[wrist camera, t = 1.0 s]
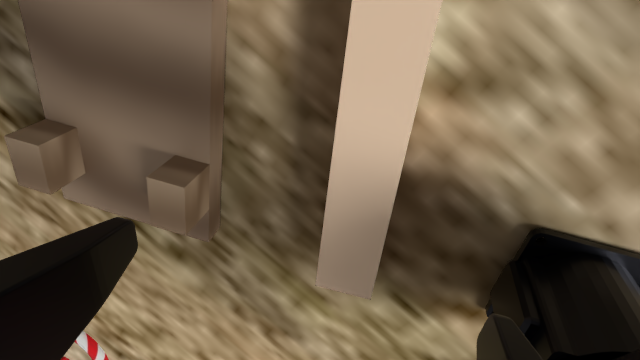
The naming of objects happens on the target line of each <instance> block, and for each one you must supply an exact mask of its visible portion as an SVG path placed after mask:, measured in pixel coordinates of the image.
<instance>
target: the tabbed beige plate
mask: <svg viewBox="0 0 640 360" xmlns="http://www.w3.org/2000/svg"><path fill="white" fill-rule="evenodd" d="M18 3H19V7H20V11H21V16H22V20H23V24H24V28H25V33H26V37H27V41H28V46H29V50H30V54H31V59H32V63H33V67H34V71H35V76H36V80H37V84H38V89H39V93H40V97H41V102H42V106H43V110H44V114H45V119H44V120H42V121H39V122H37V123H35V124H32V125H30V126H27V127H25V128H22V129H20V130H17V131H15V132H13V133H10V134H8V135H5V136H4V138H5V141H6V145H7V148H8V151H9V154H10V158H11V161H12V164H13V168H14V171H15V174H16V178H17V181H18V184H19V185H20V186H23V187H27V188H30V189H33V190H37V191H40V192H43V193H46V194H50V195H51V194H53V193H54V192H56V191H58V190H59V189H61V188H62V192H63V196H64V198H65V199H68V200H71V201H75V202H78V203H81V204H84V205H88V206H91V207H94V208H98V209H101V210H104V211H107V212H111V213H114V214H117V215H121V216H124V217H127V218H130V219H134V220H137V221H140V222H144V223H147V224H150V225H152V226H155V227H158V228H162V229H165V230H168V231H171V232H175V233H178V234H181V235H185V236H190V237H193V238H196V239H200V240H203V241H206V242H209V241H210V240H211V239H212V237H213V236H214V235H215V233H216V232H217V231H218V230H219V228H220V210H221V180H222V149H223V119H224V88H225V58H226V27H227V0H18Z"/></svg>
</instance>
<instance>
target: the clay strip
mask: <svg viewBox="0 0 640 360" xmlns="http://www.w3.org/2000/svg"><path fill="white" fill-rule="evenodd" d="M441 5H442V0H352V5H351V13H350V21H349V28H348V36H347V44H346V52H345V59H344V67H343V75H342V83H341V90H340V98H339V106H338V114H337V121H336V129H335V137H334V145H333V152H332V160H331V168H330V176H329V184H328V191H327V199H326V207H325V215H324V222H323V230H322V238H321V246H320V253H319V261H318V269H317V277H316V284H315V286H319V287H323V288H327V289H331V290H334V291H338V292H342V293H346V294H350V295H354V296H358V297H362V298H366V299H370V300H371V297H372V292H373V288H374V284H375V280H376V276H377V272H378V267H379V263H380V259H381V255H382V251H383V246H384V242H385V238H386V234H387V230H388V226H389V221H390V217H391V213H392V209H393V205H394V201H395V196H396V192H397V188H398V184H399V180H400V176H401V171H402V167H403V163H404V159H405V155H406V151H407V146H408V142H409V138H410V134H411V130H412V126H413V121H414V117H415V113H416V109H417V105H418V101H419V96H420V92H421V88H422V84H423V80H424V76H425V71H426V67H427V63H428V59H429V55H430V50H431V46H432V42H433V38H434V34H435V30H436V25H437V21H438V17H439V13H440V9H441Z"/></svg>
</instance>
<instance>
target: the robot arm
mask: <svg viewBox="0 0 640 360" xmlns="http://www.w3.org/2000/svg"><path fill="white" fill-rule="evenodd" d="M540 237H544V239H543V240H540V241H538V240H536V239H537V238H540ZM137 248H138V242H137V236H136V230H135V225H134V223H133V221H131V220H128V219H124V218H120V217H116V218H113V219H110V220H107V221H104V222H102V223H99V224H96V225H94V226H91V227H88V228H86V229H83V230H80V231H78V232H75V233H72V234H70V235H67V236H64V237H62V238H59V239H56V240H54V241H51V242H48V243H46V244H43V245H40V246H38V247H35V248H32V249H29V250H27V251H24V252H21V253H19V254H16V255H13V256H11V257H8V258H5V259H3V260H0V360H61V358H62V357H63V356H64V355H65V353H66V352H67V351H68V349H69V348H70V347H71V346H72V344H73V343H74V342H75V340H76V339H77V338H78V337H79V335H80V334H81V333H82V331H83V330H84V329H85V327H86V326H87V325H88V324H89V322H90V321H91V320H92V318H93V317H94V316H95V315H96V313H97V312H98V311H99V309H100V308H101V307H102V305H103V304H104V302H105V301H106V299H107V298H108V297H109V295H110V293H111V292H112V290H113V289H114V287H115V285H116V284H117V282H118V281H119V279H120V277H121V276H122V274H123V273H124V271H125V270H126V268H127V266H128V265H129V263H130V262H131V260H132V258H133V257H134V255H135V253H136V251H137ZM490 296H491V299H490V300H489V302H488V304H487V306H486V314H487V317H488V319H487V321H486V322H485V324H484V326H483V328H482V330H481V332H480V333H479V336H478V339H477V360H640V255H639V254H635V253H632V252H628V251H624V250H621V249H617V248H613V247H609V246H606V245H602V244H598V243H594V242H591V241H587V240H583V239H580V238H576V237H572V236H568V235H565V234H561V233H557V232H554V231H550V230H546V229H540V228H539V229H534V230H532V231H531V232H530V233H529V234H528V236H527V238H526V239H525V241H524V243H523V244H522V246H521V248H520V250H519V251H518V253H517V255H516V256H515V258H514V259H513V260H511V261H509V262H508V263H507V265H506V266H505V268H504V270H503V272H502V273H501V275H500V277H499V278H498V280H497V282H496V284H495V285H494V287H493V289H492V290H491V292H490ZM493 311H494V312H493Z"/></svg>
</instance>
